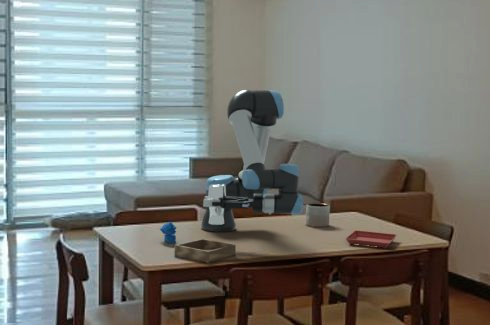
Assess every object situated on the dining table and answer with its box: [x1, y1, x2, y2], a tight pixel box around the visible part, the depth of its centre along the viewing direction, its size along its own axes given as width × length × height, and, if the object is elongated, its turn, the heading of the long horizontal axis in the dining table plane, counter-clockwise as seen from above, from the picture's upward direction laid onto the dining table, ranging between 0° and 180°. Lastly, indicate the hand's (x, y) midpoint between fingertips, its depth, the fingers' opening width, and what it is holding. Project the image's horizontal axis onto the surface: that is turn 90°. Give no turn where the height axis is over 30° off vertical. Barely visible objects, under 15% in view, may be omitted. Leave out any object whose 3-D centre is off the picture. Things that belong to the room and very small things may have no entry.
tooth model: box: [208, 184, 226, 225], centre depth 296 cm, size 7×7×15 cm
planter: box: [305, 202, 331, 228], centre depth 349 cm, size 11×11×10 cm
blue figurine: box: [159, 221, 177, 244], centre depth 304 cm, size 7×8×11 cm
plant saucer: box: [345, 230, 398, 249], centre depth 313 cm, size 18×18×3 cm
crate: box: [174, 238, 236, 264], centre depth 282 cm, size 16×16×4 cm
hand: (204, 201), depth 296 cm, fingers closed on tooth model, 7 cm apart
